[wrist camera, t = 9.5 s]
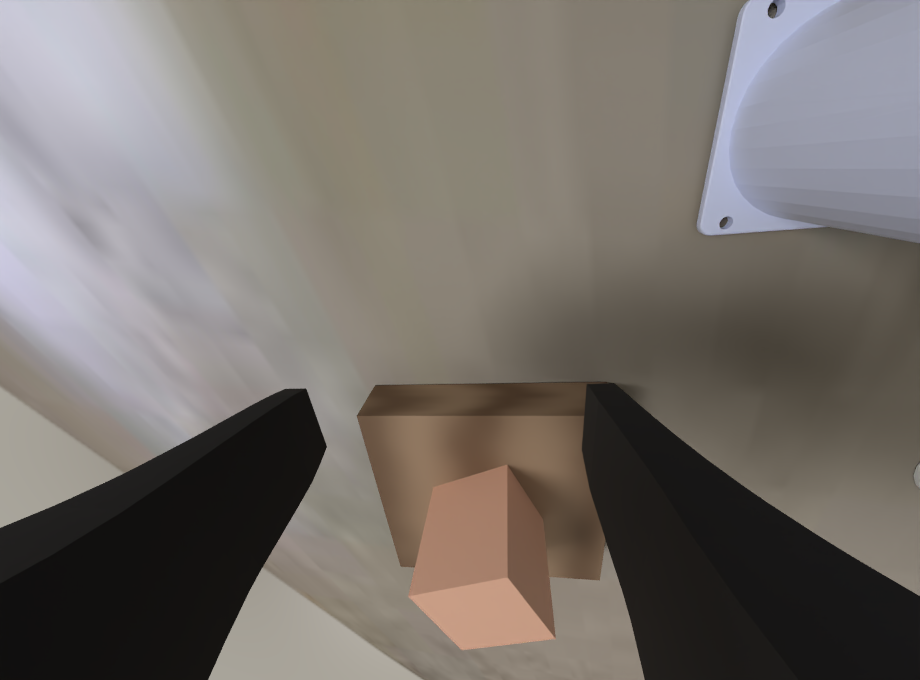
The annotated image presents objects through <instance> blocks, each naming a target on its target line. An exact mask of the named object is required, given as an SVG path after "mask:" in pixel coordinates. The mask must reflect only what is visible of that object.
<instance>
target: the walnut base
mask: <svg viewBox="0 0 920 680" xmlns="http://www.w3.org/2000/svg"><path fill="white" fill-rule="evenodd" d="M603 383H607V382H574V383H507V384H440V385H375V387H374V388H373V390H372V392H371V393H370V395H369V397H368V398H367V400H366V402H365V403H364V405H363V407H362V408H361V410H360V412H359V413H358V415H357V418H358V422H359V425H360V428H361V432H362V435H363V439H364V442H365V446H366V449H367V452H368V456H369V459H370V463H371V466H372V470H373V473H374V476H375V480H376V483H377V487H378V490H379V494H380V497H381V500H382V504H383V507H384V511H385V514H386V518H387V521H388V524H389V528H390V531H391V535H392V538H393V542H394V545H395V548H396V552H397V555H398V559H399V562H400V565H401V566H402V567H415V565H416V561H417V556H418V552H419V548H420V543H421V539H422V534H423V530H424V526H425V521H426V517H427V513H428V508H429V504H430V499H431V495H432V491H433V487H436V486H439V485H442V484H445V483H449V482H452V481H455V480H458V479H462V478H465V477H468V476H472V475H475V474H478V473H481V472H485V471H488V470H491V469H494V468H498V467H501V466H504V465H508V467H509V468H510V470H511V471H512V473H513V474H514V476H515V477H516V479H517V480H518V482H519V483H520V485H521V486H522V488H523V489H524V491H525V493H526V494H527V496H528V497H529V499H530V500H531V502H532V503H533V505H534V506H535V508H536V509H537V511H538V512H539V514H540V515H541V517H542V518H543V523H544V532H545V542H546V551H547V561H548V570H549V577H560V578H574V579H589V580H600V574H601V567H602V560H603V553H604V546H605V536H604V533H603V530H602V527H601V524H600V521H599V518H598V514H597V511H596V508H595V505H594V502H593V499H592V495H591V492H590V489H589V484H588V479H587V474H586V469H585V464H584V459H583V454H582V438H583V425H584V412H585V399H586V386H587V384H603Z"/></svg>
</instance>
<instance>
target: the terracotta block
mask: <svg viewBox="0 0 920 680" xmlns="http://www.w3.org/2000/svg"><path fill="white" fill-rule="evenodd" d="M409 597H410V599H411V600H412V601H413V602H414V603H415V604H416V605H417V606H418V607H419V608H420V609H421V610H422V611H423V612H424V613H425V614H426V615H427V616H428V617H429V618H430V619H431V620H432V621H433V622H434V623H435V624H436V625H437V626H438V627H439V628H440V629H441V630H442V631H443V632H444V633H445V634H446V635H447V636H448V637H449V638H450V639H451V640H452V641H453V642H454V643H455V644H456V645H457V646H458V647H459V648H460V649H461V650H467V649H476V648H484V647H492V646H501V645H509V644H517V643H525V642H534V641H542V640H550V639H556V637H555V628H554V618H553V609H552V599H551V590H550V580H549V570H548V561H547V551H546V542H545V532H544V523H543V518H542V517H541V515H540V514H539V512H538V511H537V509H536V508H535V506H534V505H533V503H532V502H531V500H530V499H529V497H528V496H527V494H526V493H525V491H524V489H523V488H522V486H521V485H520V483H519V482H518V480H517V479H516V477H515V476H514V474H513V473H512V471H511V470H510V468H509V467H508V465H504V466H501V467H498V468H494V469H491V470H488V471H485V472H481V473H478V474H475V475H472V476H468V477H465V478H462V479H458V480H455V481H452V482H449V483H445V484H442V485H439V486H436V487H433V491H432V495H431V499H430V504H429V508H428V513H427V517H426V521H425V526H424V530H423V534H422V539H421V543H420V548H419V552H418V556H417V561H416V565H415V569H414V574H413V578H412V583H411V587H410V591H409Z"/></svg>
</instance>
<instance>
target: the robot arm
mask: <svg viewBox="0 0 920 680" xmlns="http://www.w3.org/2000/svg"><path fill="white" fill-rule="evenodd" d="M771 3H775V4H776V6H777V13H776V15H775V17H774V18H770V17H769V16H768V8H769V5H770V4H771ZM724 217H727V218H728V222H727V224H726V225H725V226H723V227H721V228H720V227H719V223H720V221H721V220H722V219H723V218H724ZM819 227H833V228H838V229H843V230H849V231H854V232H860V233H865V234H871V235H876V236H881V237H887V238H892V239H898V240H903V241H909V242H914V243H919V244H920V0H749V1H747V2H746V3H745V4H744V6H743V7H742V8H741V10H740V12H739V15H738V18H737V23H736V28H735V33H734V39H733V44H732V49H731V54H730V59H729V64H728V69H727V74H726V79H725V84H724V89H723V94H722V99H721V104H720V109H719V114H718V119H717V124H716V129H715V134H714V139H713V144H712V149H711V154H710V160H709V165H708V170H707V175H706V180H705V185H704V190H703V195H702V200H701V205H700V210H699V215H698V220H697V229H698V231H699V232H700V233H702V234H704V235H710V236H711V235H724V234H738V233H751V232H765V231H778V230H792V229H805V228H819ZM326 448H327V446H326V443H325V440H324V437H323V434H322V432H321V429H320V426H319V423H318V420H317V418H316V415H315V412H314V409H313V406H312V404H311V401H310V398H309V395H308V392H307V390H306V389H284V390H282V391H280V392H277V393H275V394H273V395H271V396H269V397H267V398H265V399H263V400H261V401H259V402H257V403H255V404H253V405H252V406H250V407H248V408H246V409H244V410H242V411H241V412H239V413H237V414H235V415H233V416H231V417H230V418H228V419H226V420H224V421H222V422H221V423H219V424H217V425H215V426H213V427H212V428H210V429H208V430H206V431H204V432H203V433H201V434H199V435H197V436H195V437H193V438H192V439H190V440H188V441H186V442H184V443H182V444H180V445H178V446H176V447H174V448H173V449H171V450H169V451H167V452H165V453H163V454H161V455H159V456H157V457H155V458H153V459H152V460H150V461H148V462H146V463H144V464H142V465H140V466H138V467H136V468H134V469H132V470H130V471H128V472H126V473H124V474H122V475H120V476H118V477H116V478H114V479H112V480H110V481H108V482H105V483H103V484H101V485H99V486H97V487H95V488H92V489H90V490H88V491H86V492H84V493H81V494H79V495H77V496H75V497H73V498H71V499H68V500H66V501H64V502H62V503H59V504H57V505H55V506H52V507H50V508H48V509H45V510H43V511H40V512H38V513H36V514H33V515H31V516H28V517H26V518H24V519H21V520H19V521H16V522H14V523H11V524H9V525H6V526H4V527H2V528H0V680H208V678H209V676H210V674H211V672H212V669H213V667H214V665H215V663H216V661H217V658H218V656H219V654H220V652H221V650H222V647H223V645H224V643H225V641H226V639H227V636H228V634H229V632H230V630H231V628H232V626H233V624H234V622H235V620H236V618H237V616H238V614H239V611H240V609H241V607H242V605H243V603H244V601H245V599H246V597H247V595H248V593H249V591H250V589H251V587H252V585H253V583H254V582H255V580H256V578H257V576H258V574H259V572H260V571H261V569H262V567H263V565H264V564H265V562H266V560H267V559H268V557H269V555H270V554H271V552H272V550H273V548H274V547H275V545H276V543H277V542H278V540H279V538H280V537H281V535H282V533H283V531H284V530H285V528H286V526H287V525H288V523H289V521H290V520H291V518H292V516H293V515H294V513H295V511H296V509H297V508H298V506H299V504H300V502H301V501H302V499H303V497H304V496H305V494H306V492H307V490H308V488H309V487H310V485H311V483H312V481H313V479H314V477H315V474H316V472H317V470H318V468H319V465H320V463H321V460H322V458H323V455H324V453H325V450H326ZM582 454H583V459H584V464H585V469H586V474H587V479H588V484H589V489H590V492H591V495H592V499H593V502H594V505H595V508H596V511H597V514H598V518H599V521H600V524H601V527H602V530H603V533H604V536H605V539H606V542H607V545H608V548H609V551H610V555H611V558H612V561H613V564H614V567H615V570H616V573H617V576H618V579H619V582H620V585H621V588H622V592H623V595H624V598H625V602H626V605H627V609H628V612H629V616H630V619H631V623H632V627H633V631H634V636H635V640H636V644H637V648H638V652H639V657H640V661H641V665H642V669H643V674H644V678H645V680H920V596H918V595H917V594H915V593H913V592H912V591H910V590H908V589H906V588H905V587H903V586H901V585H900V584H898V583H896V582H894V581H893V580H891V579H889V578H888V577H886V576H884V575H882V574H881V573H879V572H877V571H876V570H874V569H872V568H871V567H869V566H867V565H865V564H864V563H862V562H860V561H859V560H857V559H855V558H854V557H852V556H850V555H849V554H847V553H845V552H844V551H842V550H841V549H839V548H837V547H836V546H834V545H832V544H831V543H829V542H827V541H826V540H824V539H823V538H821V537H819V536H818V535H816V534H815V533H813V532H812V531H810V530H809V529H807V528H806V527H804V526H802V525H801V524H799V523H798V522H796V521H795V520H793V519H792V518H790V517H789V516H787V515H786V514H784V513H782V512H781V511H779V510H778V509H776V508H775V507H773V506H772V505H770V504H769V503H767V502H766V501H764V500H763V499H761V498H760V497H758V496H757V495H755V494H754V493H752V492H751V491H750V490H748V489H747V488H745V487H744V486H742V485H741V484H740V483H738V482H737V481H736V480H734V479H733V478H731V477H730V476H729V475H727V474H726V473H725V472H723V471H722V470H720V469H719V468H718V467H716V466H715V465H714V464H712V463H711V462H709V461H708V460H707V459H705V458H704V457H703V456H702V455H700V454H699V453H698V452H696V451H695V450H694V449H692V448H691V447H690V446H689V445H687V444H686V443H685V442H684V441H682V440H681V439H680V438H679V437H677V436H676V435H675V434H674V433H672V432H671V431H670V430H669V429H667V428H666V427H665V426H664V425H663V424H661V423H660V422H659V421H658V420H657V419H655V418H654V417H653V416H652V415H651V414H649V413H648V412H647V411H646V410H645V409H644V408H642V407H641V406H640V405H639V404H638V403H637V402H635V401H634V400H633V399H632V398H631V397H630V396H629V395H627V394H626V393H625V392H624V391H623V390H621V389H620V388H619V387H618V386H617V385H615V384H614V383H603V384H587V386H586V399H585V412H584V425H583V438H582Z"/></svg>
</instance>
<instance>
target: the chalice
mask: <svg viewBox="0 0 920 680" xmlns="http://www.w3.org/2000/svg"><path fill="white" fill-rule="evenodd" d="M913 477H914V480H915V484H916V486H918V487H919V488H920V463H919V464H918V466H917V467H916V470H915V473H914V476H913Z"/></svg>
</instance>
